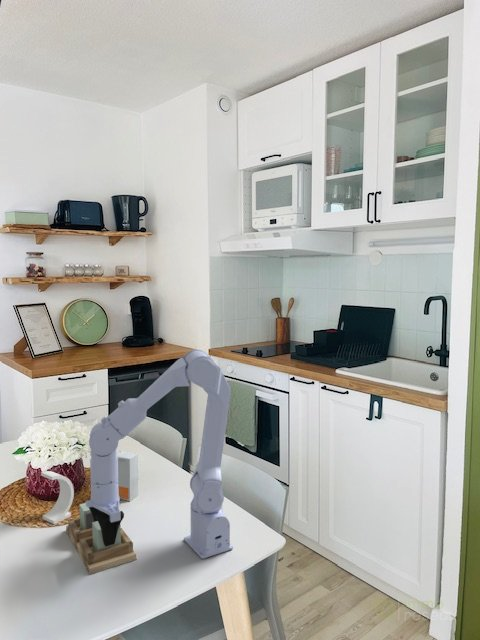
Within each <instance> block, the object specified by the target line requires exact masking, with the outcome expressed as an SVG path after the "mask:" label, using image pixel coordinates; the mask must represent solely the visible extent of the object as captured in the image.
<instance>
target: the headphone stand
mask: <svg viewBox="0 0 480 640" xmlns="http://www.w3.org/2000/svg"><path fill="white" fill-rule="evenodd" d="M40 475H41V476H42V477H43V478H47V479H48V480H50V481H55V480H57V481H58V483H59V484H58V485H59V495H58V498H57V500H56V503H55V504H54V505H53V507H52V508H51V509H50V510H48V512H47V513H45V514H43V515H42V520H45V521H47V522H49V523H50V524H53V525H55V524H57V523H59V522H62V521H63V520H66V519H68V518H70V517H72V512H70V511H69V510H70V508H71V506H72V504H73V502H74V501H73V500H74V498H75V497H74V495H75V489H74V485H73V483H72V481H71V480H70V479H69V478H68V477H66V476H64V475H62V474H60V473H56V472H54V471H50V470H45V471H44V470H43V471H41V472H40Z"/></svg>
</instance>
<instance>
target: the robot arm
mask: <svg viewBox="0 0 480 640" xmlns="http://www.w3.org/2000/svg"><path fill="white" fill-rule="evenodd" d="M189 381H190V382H191V383H192V384H194V385H196V386H197V387H200V388H202V389H203V390H204V392H205V393H206V395H207V397H206V398H207V399H206V405H205V406H206V407H205V413H204V422H203V430H202V437H201V444H200V450H199V452H200V453H199V458H198V462H197V464H196V466H195V470H194V471H195V472H194V473H193V474H192V476H191V478H190V481H189V487H190V489H191V492H192V494H193V497H192V500H191V502H190V535H186V536H183V540H184V541H185V542H186V544H187V545H188V546H189V547H190V548H191V549H192V550H193V551H194V552H195V553H196V554H197V556H199V557H200V558H201V559H203V560H204V559H206V558H209V557H213V556H215V555H218V554H222V553H225V552H227V551H231V550H233V549H234V545H232V543H231V539H230V538H231V537H230V535H231V533H230V532H231V531H230V529H231V527H230V525H231V524H230V521H229V519H228V518H227V517H226V515H225V513H224V510H223V503H224V498H225V496H224V492H223V489H222V484H223V483H222V482H223V479H222V469H221V467H222V459H223V452H224V451H223V450H224V445H225V436H226V429H227V424H228V423H227V422H228V414H229V408H230V400H231V393H232V392H231V390H232V389H231V387H230V385H229V383H228V381H227V379H226V377H225V375H224V373H223V370H222V367H220V365H219V364H217V362H215V360H214V359H213V358H211V356H209V355H208V353H207V352H205V351H204V350H202V349H197V348H195V349H191V350H189V351H188V352H187V353H186V354H184V357H180V358H179V359H177V360H176V361H174V363H173V364H172V365H170V367H168V369H167V370H165V371H164V372H163V373H162V374H161V375H160V376H159V377H158V378H157V379H156V380H155V381H154V382H153V383H152V384H151V385H149V387H147V388H146V389H145V391H143V392H142V393H141V394H139V396H138V397H136V398H132V397H131V398H130V397H129V398H127V399H126V400H125V401H124V400H121V401H119V402H118V403H117V405H118V407H117V408H115V410H113V411H112V412H111V413H110V414H109V415H107V417H106V416H104V417H102V418H101V420H100V422H97V423H96V424H95V425H93V427H92V428H91V431H90V433H89V440H88V444H89V445H88V446H89V449H90V460H89V461H90V462H89V464H90V465H89V466H90V467H89V468H90V471H89V472H90V499H89V500H86V501H85V503H86V506H87V507H89V509H90V511H91V513H92V516H93V519H94V522H95V521H98V523H99V525H100V528H101V532H102V538H103V542H104V545H105V546H109V545H112V544H115V540H116V536H117V531H118V528H119V525H120V524H121V523H122V521H123V519H124V517H125V513H124V512H123V511H122V510H120V500H121V499H120V497H119V492H118V457H117V455H116V453H117V449H118V447H119V442H120V441H121V440H123V439H124V438H126V436H128V435H129V434H130V433H132V431H134V430H135V429H136V428H137V427H138V426H139V425H140V424H142V422H144V421H145V420H146V419H147V412H148V410H149V409H150V408H151V407H153V405H155V404H156V403H158V402H159V401H161V399H162V398H164V397H165V396H166V395H168V393H170V392H171V391H172V390H173V389H175V388H177V387H190V386H191V385H190V383H189Z"/></svg>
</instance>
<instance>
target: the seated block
mask: <svg viewBox="0 0 480 640" xmlns="http://www.w3.org/2000/svg"><path fill="white" fill-rule="evenodd" d="M78 505H79V517H80V529H81V531H82V530H86V529H89V528H92V522H94V519H93V516H92V513H91V511H90V509H89V507H87V506H86V502H84V503H80V504H78Z"/></svg>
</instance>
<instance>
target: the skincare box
mask: <svg viewBox="0 0 480 640" xmlns="http://www.w3.org/2000/svg"><path fill="white" fill-rule="evenodd" d="M116 455H117V457H118V492H119V497H120V500H123V501H127V502H132V500H134V499H135V498H137V497H138V496H139V454H138V453H134V452H129V451H122V450H118V451H116Z"/></svg>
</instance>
